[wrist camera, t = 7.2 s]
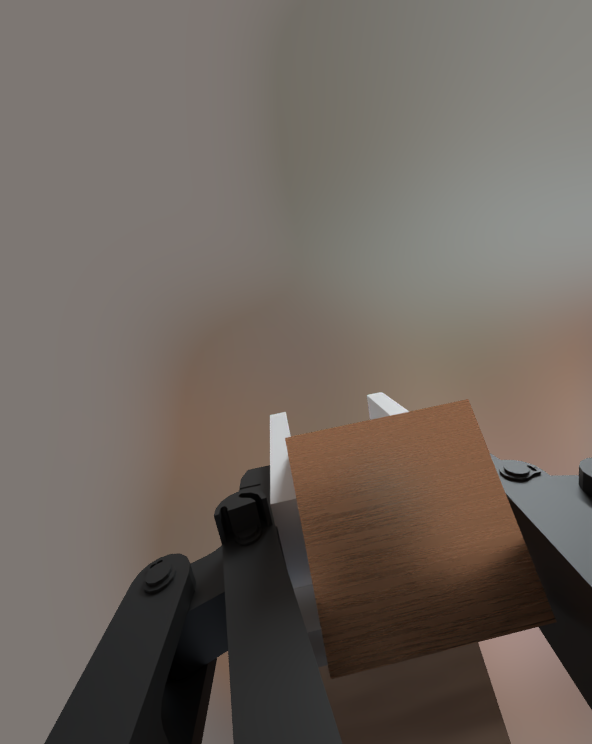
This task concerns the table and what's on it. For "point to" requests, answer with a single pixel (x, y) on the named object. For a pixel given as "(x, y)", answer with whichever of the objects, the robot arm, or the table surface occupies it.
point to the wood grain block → (410, 539)
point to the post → (410, 695)
